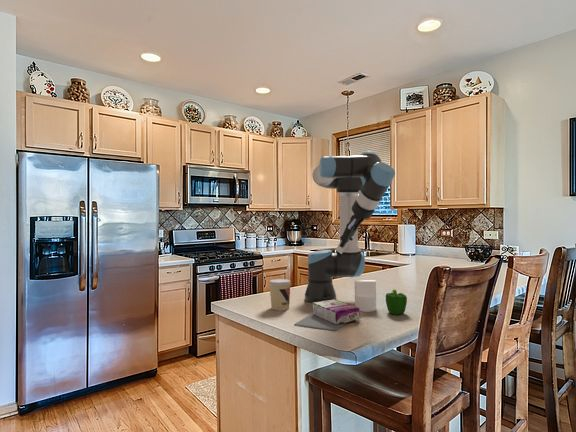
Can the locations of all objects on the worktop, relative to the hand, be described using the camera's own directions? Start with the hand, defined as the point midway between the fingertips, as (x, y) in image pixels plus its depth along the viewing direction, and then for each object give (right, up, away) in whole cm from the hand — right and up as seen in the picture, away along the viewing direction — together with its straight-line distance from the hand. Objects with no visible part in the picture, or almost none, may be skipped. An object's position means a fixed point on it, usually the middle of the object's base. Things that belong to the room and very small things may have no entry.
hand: (339, 251), depth 137 cm
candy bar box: (+2, -23, -7) cm, 25 cm away
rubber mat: (-7, -26, -4) cm, 27 cm away
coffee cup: (-23, -27, +17) cm, 40 cm away
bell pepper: (+24, -26, +7) cm, 36 cm away
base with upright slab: (+13, -26, +14) cm, 33 cm away
